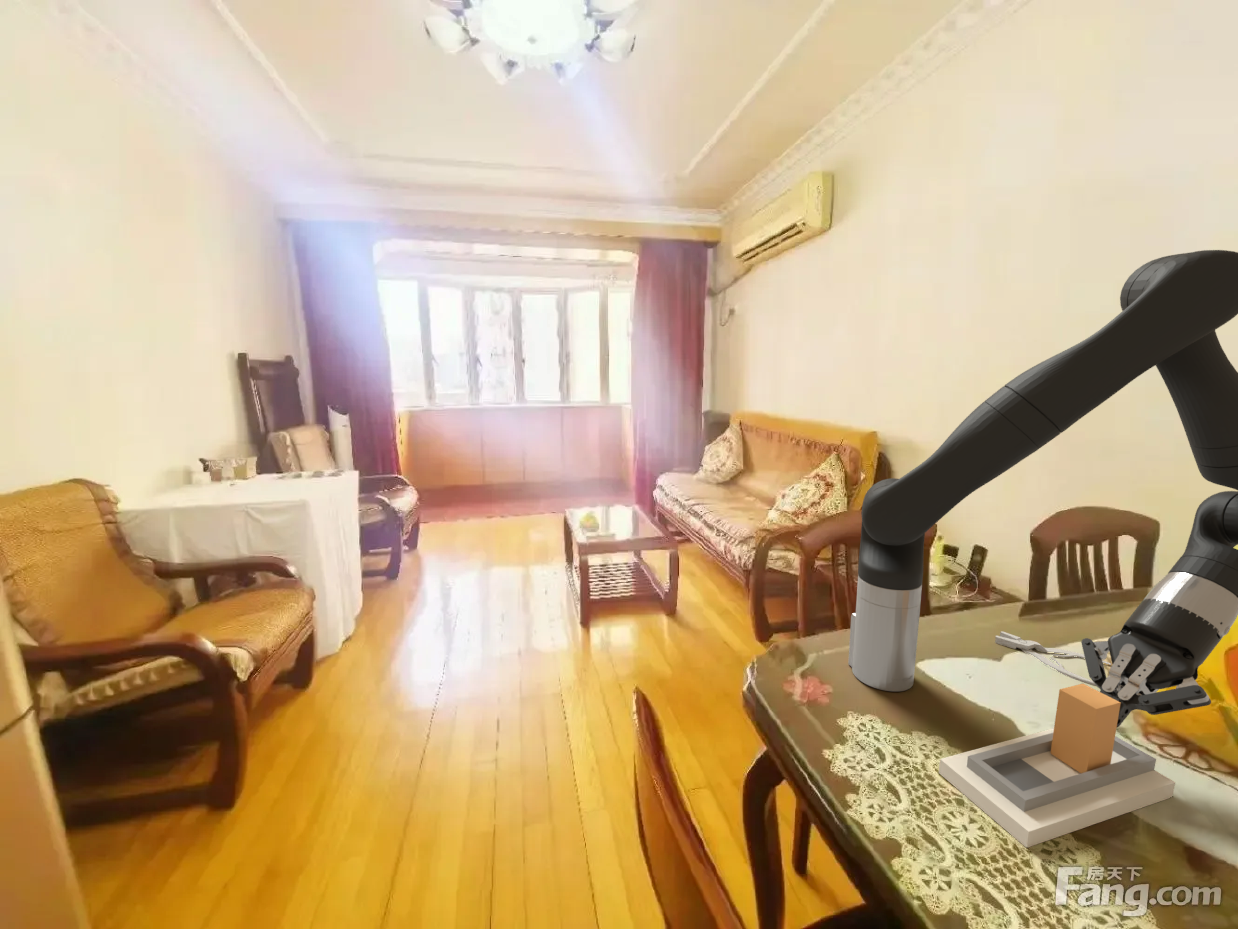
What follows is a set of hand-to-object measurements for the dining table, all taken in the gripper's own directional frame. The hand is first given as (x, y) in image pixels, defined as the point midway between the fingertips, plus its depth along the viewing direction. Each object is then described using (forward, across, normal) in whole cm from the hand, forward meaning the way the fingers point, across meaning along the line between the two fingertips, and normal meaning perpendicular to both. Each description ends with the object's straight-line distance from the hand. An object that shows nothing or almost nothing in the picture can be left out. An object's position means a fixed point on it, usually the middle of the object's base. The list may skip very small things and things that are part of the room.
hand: (1098, 723), depth 64 cm
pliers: (-11, -21, +21) cm, 32 cm away
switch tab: (+5, 0, +1) cm, 5 cm away
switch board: (+10, 0, 0) cm, 10 cm away
